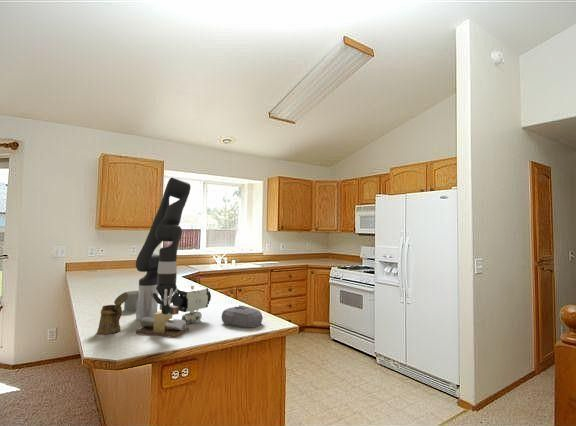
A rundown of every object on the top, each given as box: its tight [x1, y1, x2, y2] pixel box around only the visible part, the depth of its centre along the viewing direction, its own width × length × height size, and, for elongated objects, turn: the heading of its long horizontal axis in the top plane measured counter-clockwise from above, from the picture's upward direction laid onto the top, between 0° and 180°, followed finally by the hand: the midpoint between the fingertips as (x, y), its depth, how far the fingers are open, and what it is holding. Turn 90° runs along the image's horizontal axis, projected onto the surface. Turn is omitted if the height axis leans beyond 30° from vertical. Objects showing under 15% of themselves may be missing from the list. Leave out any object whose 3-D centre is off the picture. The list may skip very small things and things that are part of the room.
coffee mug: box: [123, 290, 139, 313], centre depth 190 cm, size 13×10×10 cm
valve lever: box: [159, 304, 180, 316], centre depth 143 cm, size 14×3×3 cm, turn 44°
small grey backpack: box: [221, 305, 264, 328], centre depth 160 cm, size 15×8×20 cm
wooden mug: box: [96, 291, 128, 336], centre depth 146 cm, size 9×14×18 cm, turn 69°
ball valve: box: [172, 285, 212, 324], centre depth 163 cm, size 18×8×18 cm, turn 142°
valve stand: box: [135, 310, 190, 338], centre depth 146 cm, size 20×10×10 cm, turn 75°
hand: (165, 313), depth 138 cm, fingers closed
